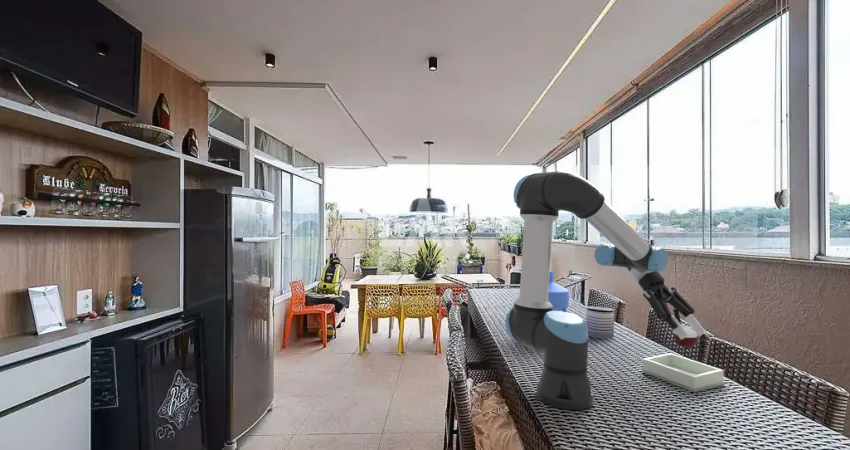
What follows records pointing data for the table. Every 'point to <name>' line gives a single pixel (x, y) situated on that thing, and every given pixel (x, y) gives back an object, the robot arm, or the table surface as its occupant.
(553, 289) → the water jug
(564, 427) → the table surface
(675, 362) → the bin
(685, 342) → the cocoa
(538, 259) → the robot arm
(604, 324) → the can
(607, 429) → the table surface
